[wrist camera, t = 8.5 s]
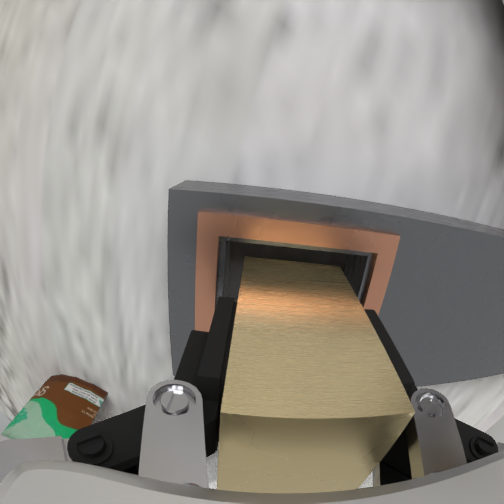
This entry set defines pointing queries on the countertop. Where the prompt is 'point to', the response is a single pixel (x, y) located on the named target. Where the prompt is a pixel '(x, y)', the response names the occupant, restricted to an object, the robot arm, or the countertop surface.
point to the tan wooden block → (305, 385)
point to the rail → (351, 269)
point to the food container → (57, 409)
